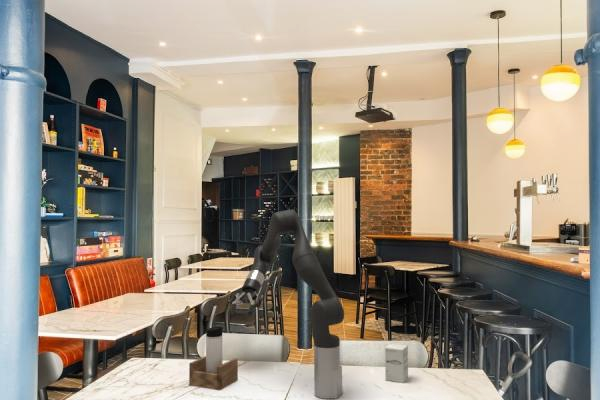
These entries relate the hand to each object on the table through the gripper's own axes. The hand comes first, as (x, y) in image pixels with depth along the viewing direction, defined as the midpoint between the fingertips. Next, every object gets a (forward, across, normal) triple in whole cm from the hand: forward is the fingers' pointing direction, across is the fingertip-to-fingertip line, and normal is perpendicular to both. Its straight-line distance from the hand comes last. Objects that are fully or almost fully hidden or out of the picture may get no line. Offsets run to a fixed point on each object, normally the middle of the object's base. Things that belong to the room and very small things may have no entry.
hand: (240, 313), depth 190 cm
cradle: (+27, -4, +7) cm, 28 cm away
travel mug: (+26, -4, +7) cm, 27 cm away
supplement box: (+6, +60, +30) cm, 68 cm away
